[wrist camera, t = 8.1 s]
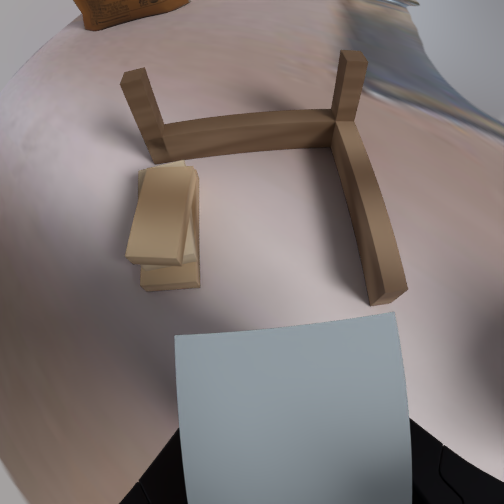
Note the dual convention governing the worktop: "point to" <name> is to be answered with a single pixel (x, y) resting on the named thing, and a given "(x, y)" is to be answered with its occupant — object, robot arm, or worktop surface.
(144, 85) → the rack
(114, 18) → the pancake mix bag
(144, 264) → the offcut stack
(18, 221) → the worktop surface
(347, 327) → the grey rectangular block
